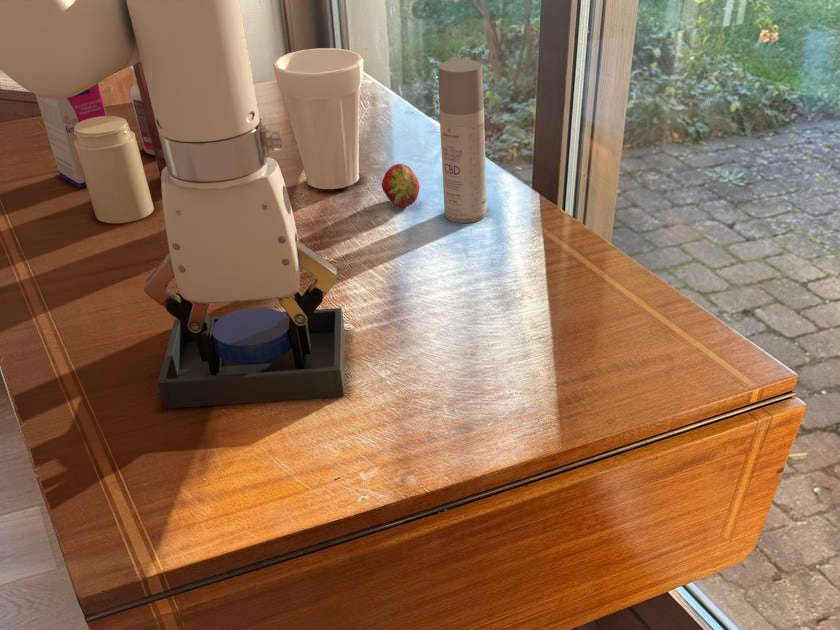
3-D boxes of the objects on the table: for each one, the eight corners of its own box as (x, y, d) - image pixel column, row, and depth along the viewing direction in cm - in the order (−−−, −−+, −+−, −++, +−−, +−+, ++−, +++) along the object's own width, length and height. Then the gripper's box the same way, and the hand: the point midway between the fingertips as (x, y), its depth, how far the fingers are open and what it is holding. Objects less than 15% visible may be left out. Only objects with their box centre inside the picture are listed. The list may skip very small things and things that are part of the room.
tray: (165, 409, 83) (157, 383, 81) (181, 344, 91) (174, 318, 89) (344, 396, 84) (340, 370, 82) (345, 332, 92) (341, 307, 90)
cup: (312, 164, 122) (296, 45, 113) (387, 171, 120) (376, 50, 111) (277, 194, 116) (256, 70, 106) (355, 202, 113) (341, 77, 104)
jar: (90, 225, 111) (63, 136, 104) (101, 202, 115) (75, 116, 109) (149, 221, 111) (126, 132, 104) (157, 199, 116) (135, 112, 109)
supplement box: (81, 189, 119) (49, 84, 110) (59, 176, 122) (26, 73, 114) (124, 176, 121) (96, 72, 113) (102, 163, 124) (73, 62, 116)
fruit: (417, 193, 115) (414, 148, 111) (423, 213, 111) (420, 167, 107) (381, 196, 115) (377, 151, 111) (386, 216, 110) (381, 170, 107)
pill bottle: (193, 150, 127) (174, 66, 120) (153, 160, 125) (132, 74, 118) (177, 139, 130) (158, 56, 123) (138, 148, 128) (116, 64, 121)
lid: (209, 366, 83) (205, 348, 82) (220, 327, 88) (216, 309, 87) (291, 362, 83) (288, 343, 82) (297, 323, 88) (294, 305, 87)
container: (441, 222, 109) (433, 72, 98) (448, 205, 112) (441, 58, 101) (483, 223, 108) (479, 72, 98) (489, 206, 111) (486, 58, 101)
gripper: (330, 128, 77) (356, 336, 90) (107, 141, 77) (166, 350, 89) (328, 162, 72) (356, 378, 85) (89, 177, 71) (154, 393, 84)
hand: (258, 362), depth 87 cm, fingers closed on lid, 6 cm apart
